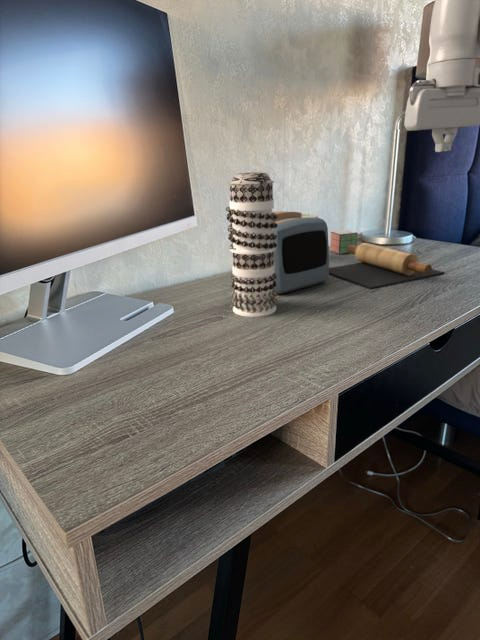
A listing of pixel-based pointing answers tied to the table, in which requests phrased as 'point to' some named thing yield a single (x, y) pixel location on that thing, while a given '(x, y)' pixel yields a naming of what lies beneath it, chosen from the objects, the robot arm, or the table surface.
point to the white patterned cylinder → (252, 244)
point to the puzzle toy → (342, 240)
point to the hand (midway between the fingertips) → (442, 151)
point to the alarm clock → (299, 251)
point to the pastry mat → (375, 275)
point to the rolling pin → (389, 259)
